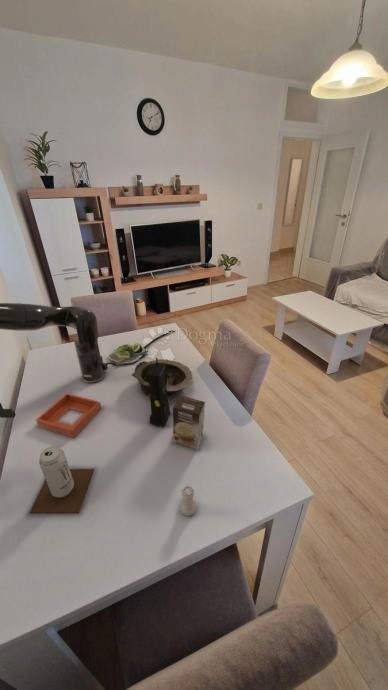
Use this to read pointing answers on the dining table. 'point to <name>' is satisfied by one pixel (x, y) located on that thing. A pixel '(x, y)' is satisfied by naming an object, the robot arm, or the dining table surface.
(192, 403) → the coffee box
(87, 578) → the dining table surface
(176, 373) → the stone bowl
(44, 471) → the energy drink can
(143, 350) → the salad plate
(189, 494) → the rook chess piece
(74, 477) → the coaster
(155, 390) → the portable radio
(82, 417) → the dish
